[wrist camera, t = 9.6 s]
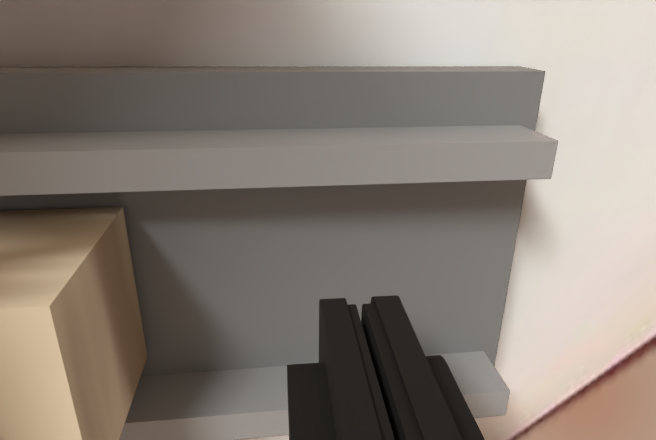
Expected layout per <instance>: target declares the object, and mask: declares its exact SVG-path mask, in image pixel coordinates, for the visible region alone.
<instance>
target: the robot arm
mask: <svg viewBox="0 0 656 440" xmlns="http://www.w3.org/2000/svg"><path fill="white" fill-rule="evenodd" d="M287 390H288V420H289V440H484V438H483V436H482V433H481V431H480V429H479V427H478V425H477V423H476V421H475V419H474V417H473V415H472V413H471V411H470V409H469V407H468V405H467V403H466V401H465V399H464V397H463V395H462V393H461V391H460V389H459V387H458V385H457V383H456V381H455V379H454V377H453V375H452V373H451V371H450V369H449V366H448V364H447V362H446V361H445V359H444V358H443V357H442V356H441V355H432V356H425V354H424V352H423V350H422V347H421V345H420V343H419V341H418V338H417V336H416V334H415V332H414V329H413V327H412V325H411V322H410V320H409V318H408V316H407V313H406V311H405V309H404V307H403V304H402V302H401V300H400V298H399V296H397V295H393V296H373V297H372V298H371V303H369V304H363V305H362V314H361V320H360V317H359V313H358V310H357V306H356V305H355V304H350V305H347V301H346V298H333V299H320V300H319V363H306V364H291V365H287Z"/></svg>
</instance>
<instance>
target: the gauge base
mask: <svg viewBox="0 0 656 440" xmlns="http://www.w3.org/2000/svg"><path fill="white" fill-rule="evenodd" d="M544 76H545V71H541V70H536V69H530V68H525V67H519V66H509V67H0V211H20V210H49V209H78V208H107V207H123V210H124V216H125V222H126V228H127V235H128V241H129V247H130V253H131V259H132V265H133V271H134V277H135V284H136V290H137V296H138V302H139V308H140V314H141V320H142V327H143V333H144V339H145V345H146V351H147V359H146V362H145V365H144V368H143V371H142V374H141V377H140V379H139V382H138V385H137V388H136V391H135V394H134V397H133V400H132V403H131V406H130V409H129V412H128V415H127V418H126V421H125V423H124V426H123V429H122V432H121V435H120V438H119V440H238V439H249V438H260V437H271V436H282V435H289V420H288V390H287V365H291V364H306V363H319V300H320V299H333V298H346V301H347V305H350V304H355V305H356V306H357V310H358V313H359V317H360V320H361V314H362V305H363V304H369V303H371V298H372V297H373V296H393V295H397V296H399V298H400V300H401V302H402V304H403V307H404V309H405V311H406V313H407V316H408V318H409V320H410V322H411V325H412V327H413V329H414V332H415V334H416V336H417V338H418V341H419V343H420V345H421V347H422V350H423V352H424V354H425V356H432V355H441V356H442V357H443V358H444V359H445V361H446V362H447V364H448V366H449V369H450V371H451V373H452V375H453V377H454V379H455V381H456V383H457V385H458V387H459V389H460V391H461V393H462V395H463V397H464V399H465V401H466V403H467V405H468V407H469V409H470V411H471V413H472V415H473V417H474V418H480V417H491V416H502V415H505V414H506V409H507V404H508V399H509V394H510V390H509V388H508V387H507V385H506V384H505V382H504V381H503V379H502V378H501V376H500V375H499V373H498V372H497V370H496V369H495V367H494V365H495V359H496V353H497V347H498V341H499V336H500V330H501V324H502V318H503V313H504V307H505V301H506V295H507V289H508V284H509V278H510V272H511V266H512V261H513V255H514V249H515V243H516V237H517V232H518V226H519V220H520V214H521V209H522V203H523V197H524V191H525V185H526V180H528V179H551V176H552V171H553V166H554V161H555V155H556V150H557V145H558V141H557V140H555V139H552V138H550V137H547V136H545V135H543V134H540V133H538V132H535V128H536V122H537V116H538V110H539V105H540V99H541V93H542V87H543V82H544Z"/></svg>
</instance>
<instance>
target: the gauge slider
mask: <svg viewBox="0 0 656 440" xmlns="http://www.w3.org/2000/svg"><path fill="white" fill-rule="evenodd" d="M146 359H147V351H146V345H145V339H144V333H143V327H142V320H141V314H140V308H139V302H138V296H137V290H136V284H135V277H134V271H133V265H132V259H131V253H130V247H129V241H128V235H127V228H126V222H125V216H124V210H123V207H107V208H78V209H49V210H20V211H0V440H119V438H120V435H121V432H122V429H123V426H124V423H125V421H126V418H127V415H128V412H129V409H130V406H131V403H132V400H133V397H134V394H135V391H136V388H137V385H138V382H139V379H140V377H141V374H142V371H143V368H144V365H145V362H146Z"/></svg>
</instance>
